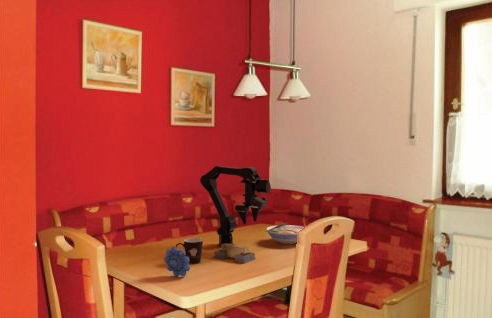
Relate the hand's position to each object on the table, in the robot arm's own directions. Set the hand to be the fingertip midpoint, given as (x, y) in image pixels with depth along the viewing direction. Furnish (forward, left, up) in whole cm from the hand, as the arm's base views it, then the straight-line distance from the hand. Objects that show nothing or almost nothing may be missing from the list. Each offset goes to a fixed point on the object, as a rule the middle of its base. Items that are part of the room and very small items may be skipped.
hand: (250, 222), depth 228 cm
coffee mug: (-8, -36, -13) cm, 39 cm away
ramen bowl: (+10, +21, -13) cm, 27 cm away
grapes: (+2, -56, -13) cm, 58 cm away
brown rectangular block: (+5, -20, -12) cm, 24 cm away
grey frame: (+5, -20, -13) cm, 24 cm away
